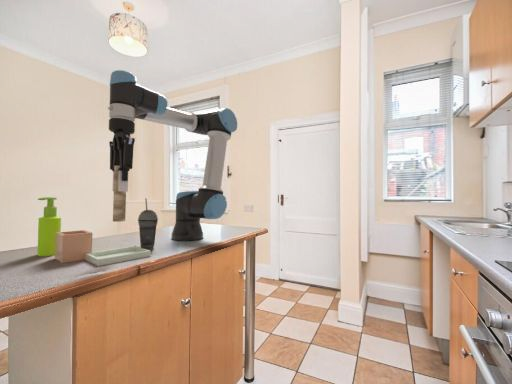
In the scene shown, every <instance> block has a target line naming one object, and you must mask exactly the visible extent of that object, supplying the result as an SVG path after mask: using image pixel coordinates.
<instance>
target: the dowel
mask: <svg viewBox="0 0 512 384" xmlns="http://www.w3.org/2000/svg"><path fill="white" fill-rule="evenodd" d="M119 168H120V166H114V191H113V197H112V198H113V203H112V205H113V207H112V222H115V223H116V222H119V223H120V222H126V214H127V213H126V210H127V209H126V208H127V207H126V206H127V205H126V204H127V191H118V177H119V171H120V170H118V169H119Z"/></svg>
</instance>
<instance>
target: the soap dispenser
mask: <svg viewBox="0 0 512 384" xmlns="http://www.w3.org/2000/svg"><path fill="white" fill-rule="evenodd" d="M37 200H38V201H45V200H46V201H47V202H46V206H44V207H43V216H41V217H39V218H38V226H37V228H38V231H37V257H50V256H55V233H56V232H62V231H61V230H62V229H61V228H62V217H61V216H57V207H56V206H55V204H54V203H55V200H57V197H53V196H52V197H51V196H50V197H49V196H47V197H46V196H44V197H39V198H37Z"/></svg>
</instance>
